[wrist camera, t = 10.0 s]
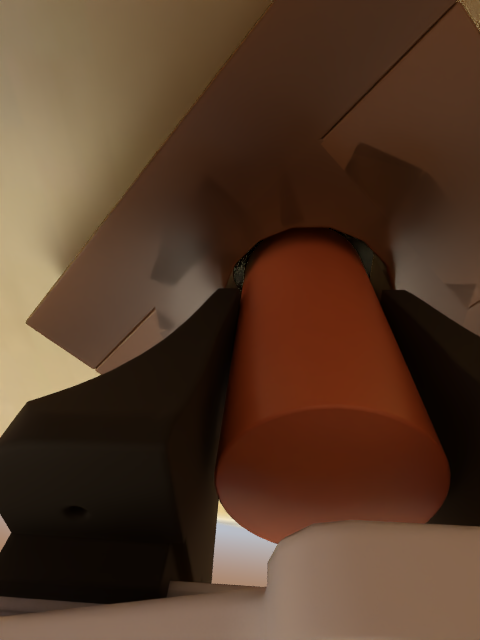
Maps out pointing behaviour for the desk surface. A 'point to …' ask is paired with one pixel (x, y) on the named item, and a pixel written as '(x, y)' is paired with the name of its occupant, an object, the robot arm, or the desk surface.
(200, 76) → the desk surface
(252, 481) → the peg
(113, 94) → the desk surface
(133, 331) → the block with round hole
